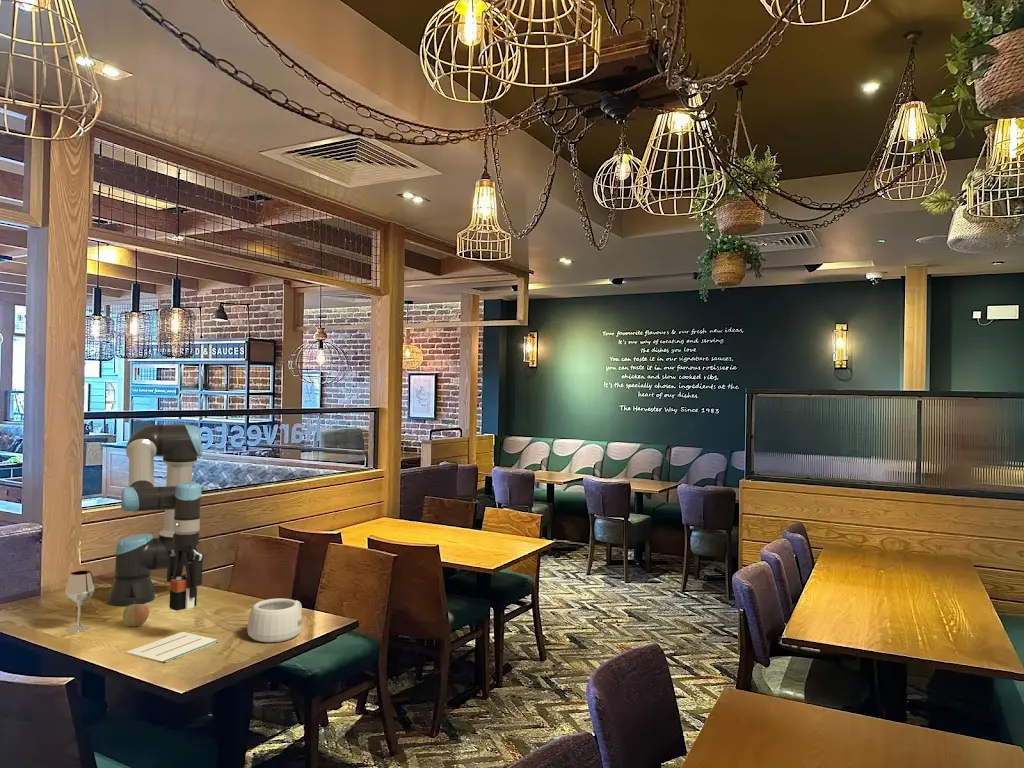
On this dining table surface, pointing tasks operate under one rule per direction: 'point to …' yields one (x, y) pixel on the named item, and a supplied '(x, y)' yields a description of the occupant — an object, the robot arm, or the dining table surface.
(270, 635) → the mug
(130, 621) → the fruit
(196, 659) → the dining table surface
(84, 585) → the wineglass
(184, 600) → the battery
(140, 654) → the order pad
